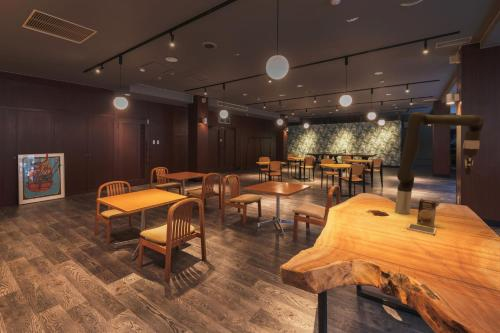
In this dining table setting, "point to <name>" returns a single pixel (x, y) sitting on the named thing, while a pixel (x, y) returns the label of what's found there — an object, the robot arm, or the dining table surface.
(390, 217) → the dining table surface
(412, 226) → the mat
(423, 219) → the coffee box
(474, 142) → the robot arm
